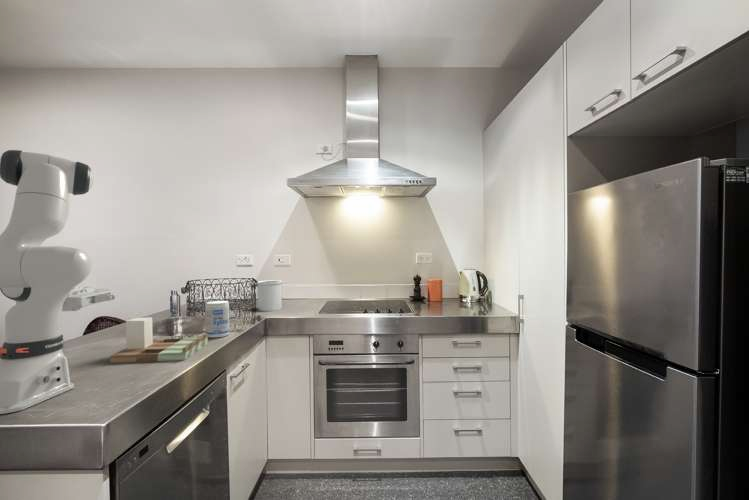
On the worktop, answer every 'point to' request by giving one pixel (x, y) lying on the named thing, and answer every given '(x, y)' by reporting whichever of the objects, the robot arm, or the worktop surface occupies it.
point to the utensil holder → (269, 295)
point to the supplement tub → (217, 318)
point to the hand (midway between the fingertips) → (113, 297)
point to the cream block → (139, 333)
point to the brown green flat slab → (162, 350)
